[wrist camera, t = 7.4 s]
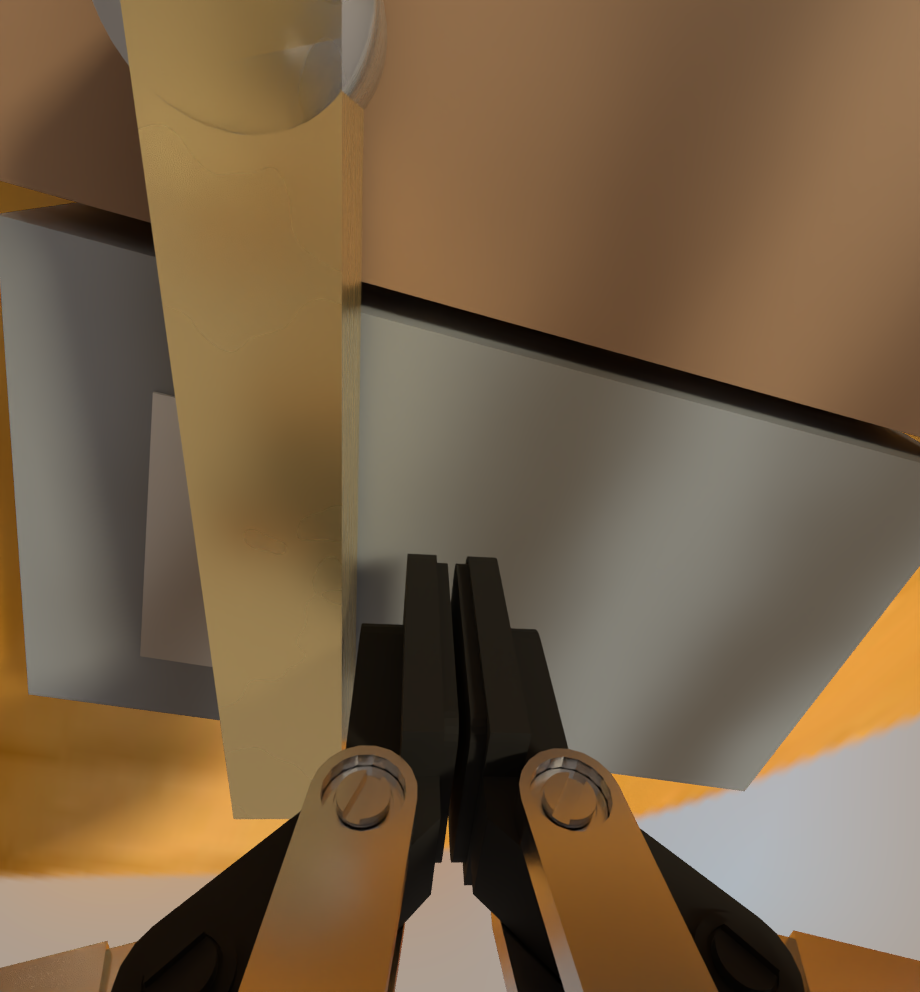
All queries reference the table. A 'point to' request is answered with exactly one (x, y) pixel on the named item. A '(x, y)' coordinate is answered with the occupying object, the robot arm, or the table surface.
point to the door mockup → (522, 356)
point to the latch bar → (264, 346)
